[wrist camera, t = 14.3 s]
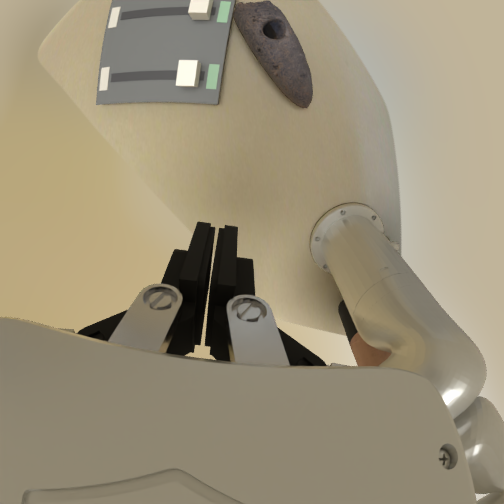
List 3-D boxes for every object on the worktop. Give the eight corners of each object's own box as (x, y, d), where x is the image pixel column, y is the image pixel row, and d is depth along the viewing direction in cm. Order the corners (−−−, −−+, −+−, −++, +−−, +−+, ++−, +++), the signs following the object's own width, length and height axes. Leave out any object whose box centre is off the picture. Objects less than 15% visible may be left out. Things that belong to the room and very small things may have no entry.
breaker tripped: (213, 0, 21) (211, -9, 18) (209, 20, 22) (206, 12, 19) (196, 0, 20) (192, -9, 18) (192, 19, 22) (188, 12, 19)
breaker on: (201, 63, 25) (197, 60, 22) (197, 87, 27) (194, 86, 24) (184, 63, 25) (179, 59, 22) (181, 86, 26) (175, 85, 24)
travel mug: (358, 283, 47) (402, 372, 30) (379, 299, 50) (420, 380, 33) (329, 309, 50) (360, 400, 33) (351, 323, 53) (383, 405, 36)
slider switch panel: (236, -5, 22) (236, -10, 20) (218, 104, 30) (217, 104, 28) (118, 1, 20) (112, -3, 18) (102, 103, 28) (95, 104, 26)
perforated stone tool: (317, 100, 31) (335, 102, 25) (281, 115, 32) (291, 119, 26) (267, 6, 23) (275, -13, 17) (229, 19, 24) (228, 2, 18)
